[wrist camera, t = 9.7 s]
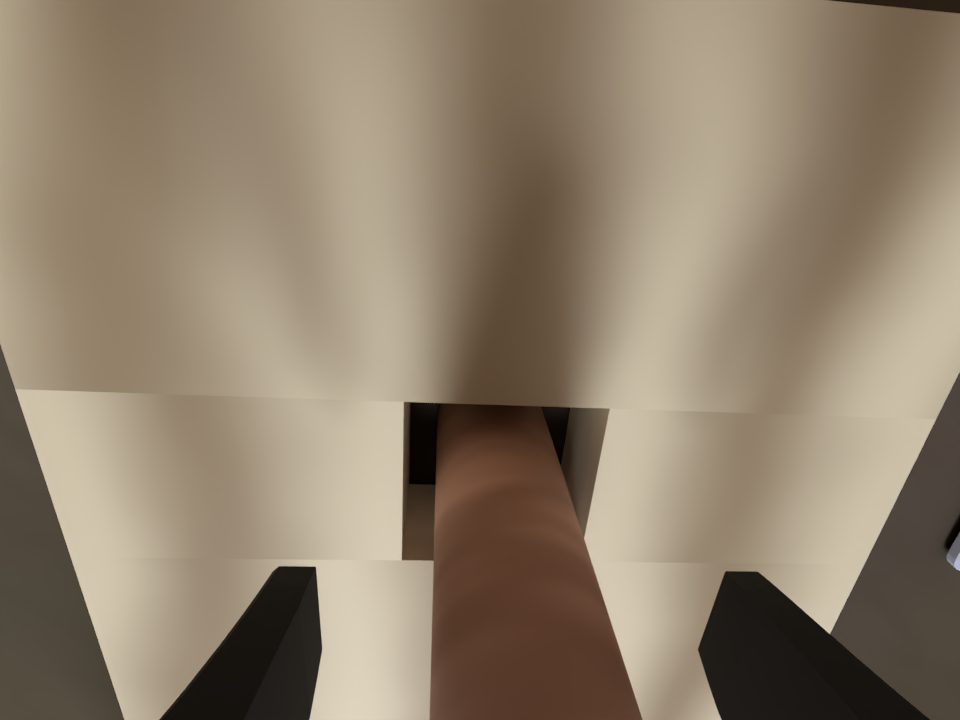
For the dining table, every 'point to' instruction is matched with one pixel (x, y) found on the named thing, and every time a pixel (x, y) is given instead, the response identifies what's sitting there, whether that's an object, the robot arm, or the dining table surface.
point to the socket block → (470, 301)
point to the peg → (515, 580)
